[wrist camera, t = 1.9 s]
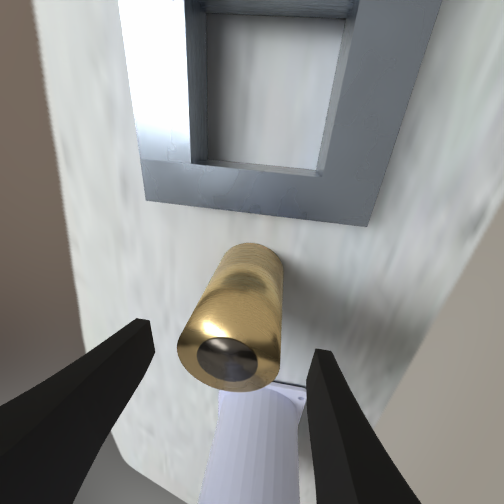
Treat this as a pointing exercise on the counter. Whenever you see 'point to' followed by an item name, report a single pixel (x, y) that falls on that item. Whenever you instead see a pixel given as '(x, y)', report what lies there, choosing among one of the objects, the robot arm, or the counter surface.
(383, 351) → the counter surface
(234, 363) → the bushing
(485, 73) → the counter surface
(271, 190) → the plate
